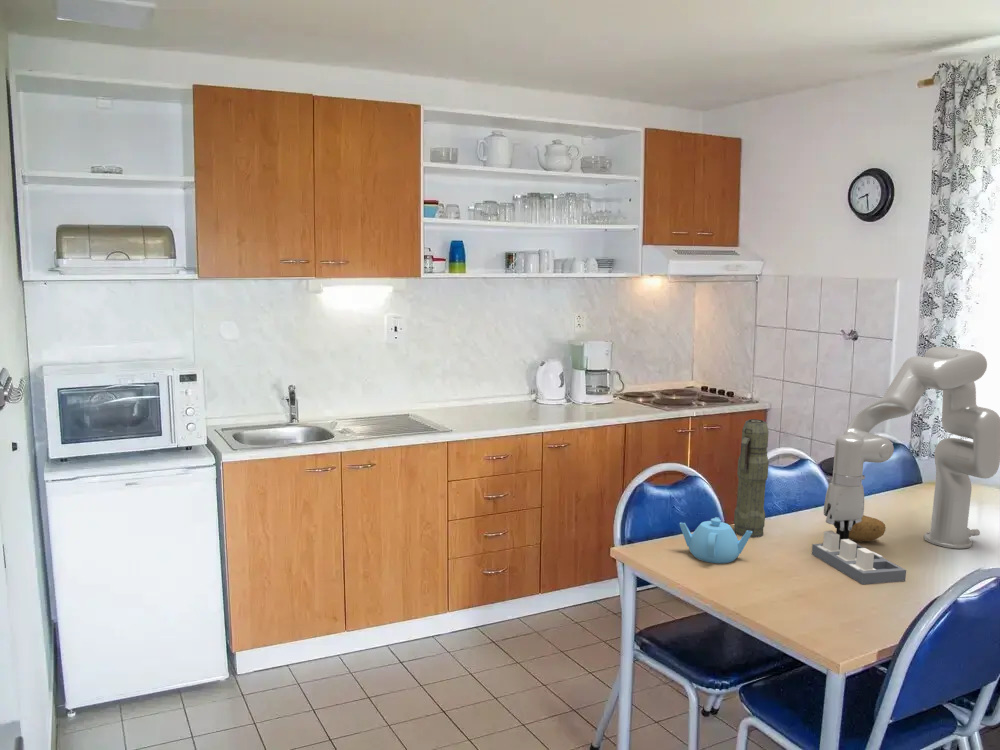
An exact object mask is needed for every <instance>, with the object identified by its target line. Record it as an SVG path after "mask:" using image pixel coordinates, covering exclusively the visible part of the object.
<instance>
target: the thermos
mask: <svg viewBox="0 0 1000 750" xmlns="http://www.w3.org/2000/svg"><path fill="white" fill-rule="evenodd" d="M769 431H770V430H769V428H768V424H767V422H766V421H764V420H763V419H756V418H755V419H754V418H751V419H747V420H745V421H744V425H743V427H742V429H741V441H740V442H741V444H740V454H739V456H738V460H737V473H736V475H737V478H738V481H737V482H738V484H737V496H736V498H737V500H736V507H735V509H734V516H733V524H734V526H733V528H734V529H733V531H734V533H735V535H738V536H740V537H743V536H744V534H745V533H746V531H747V530H748V531H752V534H751V536H750V538H760V537H762V536H764V528H765V525H766V523H765V521H766V511H765V508H764V507H765V496H766V495H765V494H766V482H767V480H768V475H769V458H768V447H769V446H768V445H769V433H770V432H769Z"/></svg>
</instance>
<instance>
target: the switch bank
mask: <svg viewBox="0 0 1000 750" xmlns="http://www.w3.org/2000/svg"><path fill="white" fill-rule="evenodd" d="M822 546H823V543H812V547H811V555H812V556H814V557H816V558H817V559H819V560H820V561H822V562H824V563H826V564H827V565H829V566H831V567H832V568H834V569H836V570H838V571H839V572H840V573H842V574H843V575H846V576H847V577H849V578H851V579H852V580H854V581H856V582H858V583H859V584H861V585H872V584H873V585H874V584H882V583H883V584H885V583H896V582H897V583H899V582H906V578H907V577H906V576H907V569H905V568H903V567H901V566H899V565H897V564H896V563H894V562H892V561H890V560H888V559H887V558H885V557H883V555H881V554H879V553H877V552H876V551H873V552H874V560H873V568H874V569H876V570H870V571H862V570H861V569H860V568H859V567H857V566H855V565H853V564H856V561H845V560H843V559H841V558H839V557H838V556H836V555H839V553H840V551H837V552H829V551H828V550H827V549H825V548H824V547H822ZM857 548H865V547H864V546H862V545H861V544H858V543H857ZM857 548H856V557H857ZM839 550H840V543H839Z"/></svg>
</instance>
